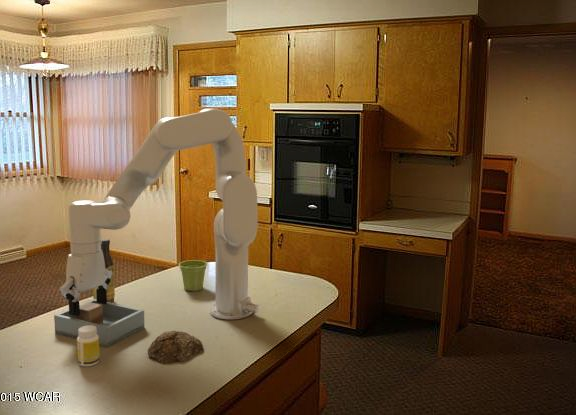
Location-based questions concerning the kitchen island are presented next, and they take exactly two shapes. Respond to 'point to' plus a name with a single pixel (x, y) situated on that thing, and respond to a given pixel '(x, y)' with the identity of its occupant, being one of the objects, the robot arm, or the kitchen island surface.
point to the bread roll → (174, 347)
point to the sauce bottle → (109, 266)
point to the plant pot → (193, 274)
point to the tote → (114, 326)
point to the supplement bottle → (88, 346)
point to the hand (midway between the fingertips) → (88, 308)
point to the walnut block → (91, 313)
